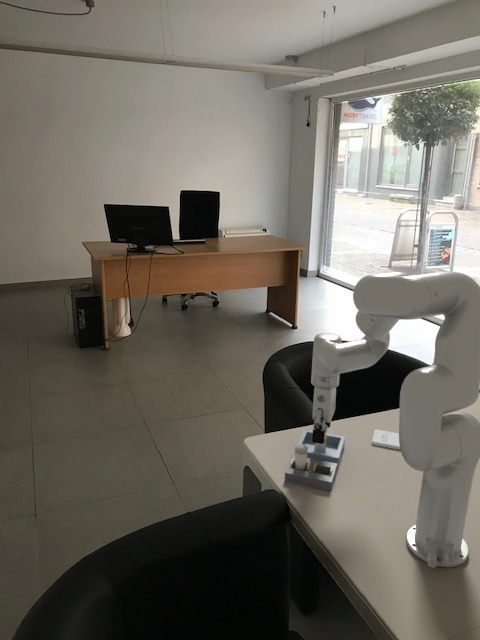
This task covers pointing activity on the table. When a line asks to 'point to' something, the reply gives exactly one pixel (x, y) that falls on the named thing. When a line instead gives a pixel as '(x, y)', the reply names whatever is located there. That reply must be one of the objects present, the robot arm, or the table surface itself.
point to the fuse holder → (312, 473)
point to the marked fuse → (321, 447)
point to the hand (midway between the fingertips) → (321, 434)
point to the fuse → (300, 457)
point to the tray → (332, 447)
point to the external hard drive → (386, 439)
